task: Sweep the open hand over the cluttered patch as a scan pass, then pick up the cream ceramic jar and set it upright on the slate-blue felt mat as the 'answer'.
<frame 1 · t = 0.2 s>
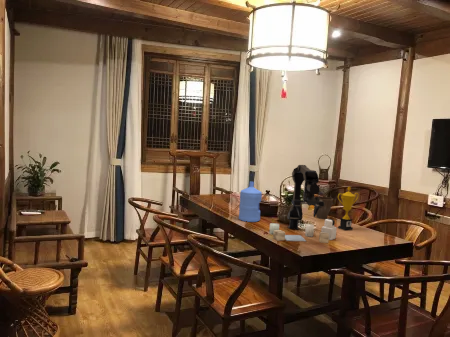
hand: (306, 216, 226), 14 cm above the table, fingers open, 9 cm apart
plant pot: (321, 218, 294), on the table
beech block b: (323, 241, 226), on the table
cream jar: (309, 235, 237), on the table
felt mat: (293, 238, 229), on the table
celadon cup: (274, 233, 238), on the table
trophy: (345, 229, 262), on the table
water jug: (249, 220, 273), on the table
beech block a: (278, 239, 225), on the table
medicine bottle: (328, 238, 235), on the table
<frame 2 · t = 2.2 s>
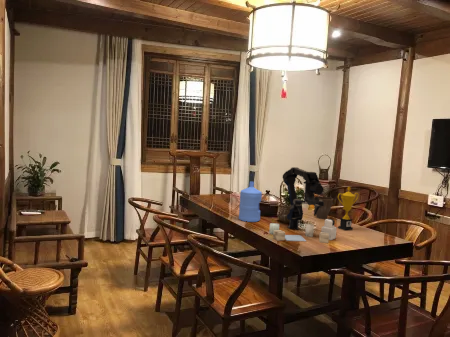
hand: (307, 215, 240), 12 cm above the table, fingers open, 9 cm apart
nothing on the table moved.
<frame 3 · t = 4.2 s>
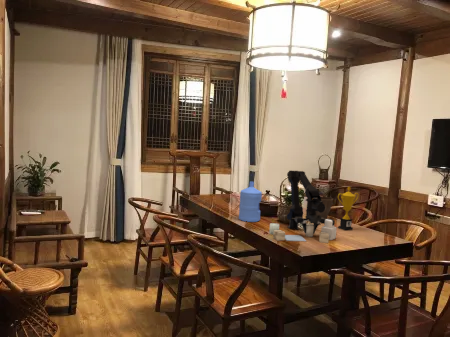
hand: (309, 233, 237), 2 cm above the table, fingers closed on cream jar, 5 cm apart
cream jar: (309, 235, 237), on the table, touching gripper
everything else where it was.
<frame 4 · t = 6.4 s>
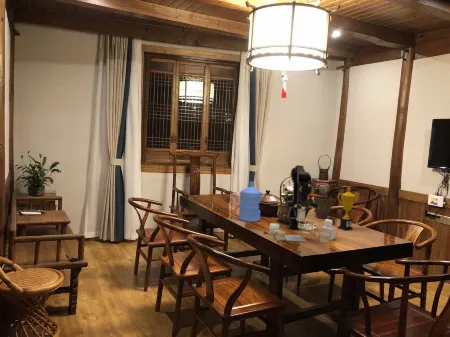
hand: (300, 218, 230), 12 cm above the table, fingers closed on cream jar, 5 cm apart
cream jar: (300, 220, 230), point 11 cm above the table, touching gripper
everything else where it was.
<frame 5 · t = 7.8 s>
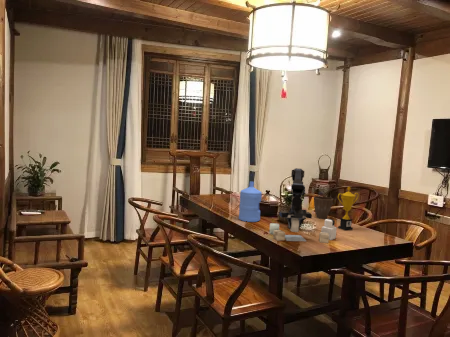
hand: (294, 228, 229), 6 cm above the table, fingers closed on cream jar, 5 cm apart
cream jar: (294, 230, 229), point 5 cm above the table, touching gripper
everything else where it was.
when the fingers open (3 cm above the table, at t = 8.8 s): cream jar drops 1 cm, resting on felt mat.
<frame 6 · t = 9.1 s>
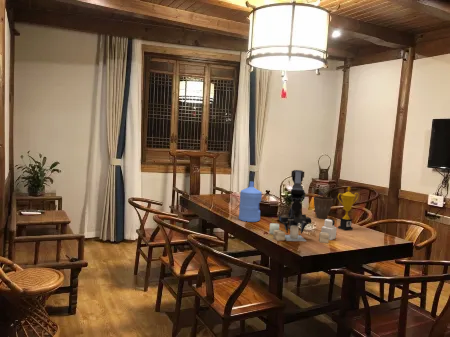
hand: (294, 233, 229), 3 cm above the table, fingers open, 9 cm apart
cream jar: (293, 237, 229), resting on felt mat
everything else where it was.
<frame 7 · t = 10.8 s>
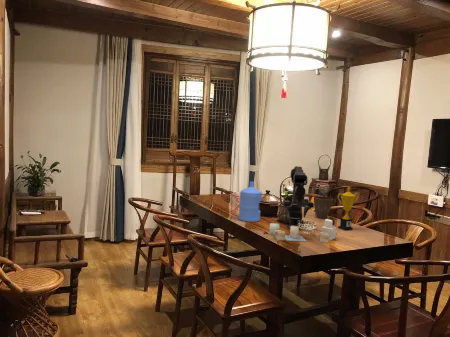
hand: (296, 217, 236), 11 cm above the table, fingers open, 9 cm apart
nothing on the table moved.
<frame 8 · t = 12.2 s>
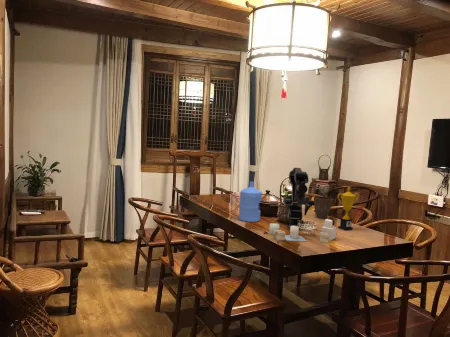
hand: (297, 215, 239), 12 cm above the table, fingers open, 9 cm apart
nothing on the table moved.
at the end: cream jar inside the target area on the felt mat (0.0 cm from its centre), point 0.4 cm above the felt mat's base; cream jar tilted 0°; the gripper is holding nothing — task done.
